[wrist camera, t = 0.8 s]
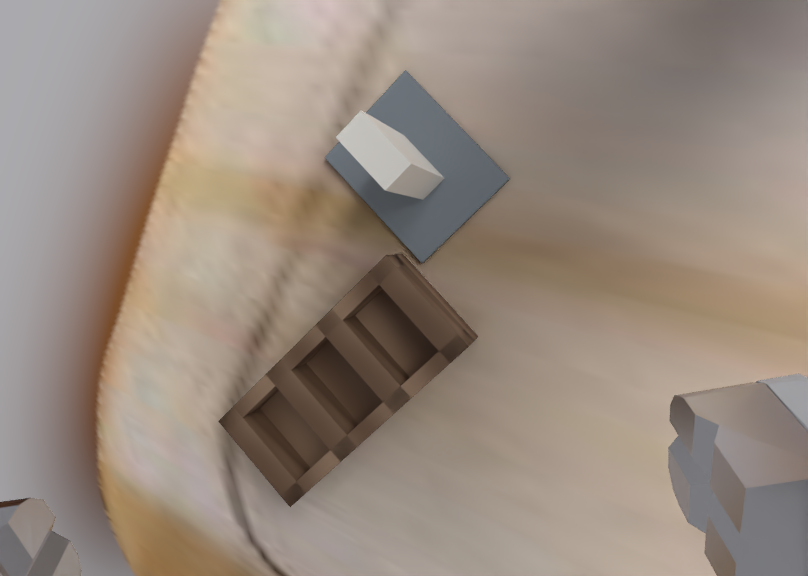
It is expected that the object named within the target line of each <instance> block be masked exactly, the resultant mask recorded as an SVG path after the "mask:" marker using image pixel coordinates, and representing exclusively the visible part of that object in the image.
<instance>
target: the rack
mask: <svg viewBox="0 0 808 576" xmlns="http://www.w3.org/2000/svg"><path fill="white" fill-rule="evenodd" d="M477 337H478V336H477V335H476V333H475V332H474V331H473V330H472V329H471V328H470V327H469V326H468V325H467V324H466V323H465V321H464V320H463V319H462V318H461V317H460V316H459V315H458V314H457V313H456V312H455V311H454V309H453V308H452V307H451V306H450V305H449V304H448V303H447V302H446V301H445V300H444V299H443V297H442V296H441V295H440V294H439V293H438V292H437V291H436V290H435V289H434V288H433V287H432V285H431V284H430V283H429V282H428V281H427V280H426V279H425V278H424V277H423V276H422V275H421V273H420V272H419V271H418V270H417V269H416V268H415V267H414V266H413V265H412V264H411V262H410V261H409V260H408V259H407V258H406V257H405V256H404V255H403V254H395V255H386V256H385V257H384V258H383V259H382V260H381V261H380V262H379V263H378V264H377V265H376V266H375V267H374V268H373V269H372V270H371V271H370V272H369V273H368V274H367V275H366V276H365V277H364V278H363V279H362V280H361V281H360V282H359V283H358V284H357V285H356V286H355V287H354V288H353V289H352V290H351V291H350V292H349V293H348V294H347V295H346V296H345V297H344V298H343V299H342V300H341V301H339V302H338V303H337V304H336V305H335V306H334V307H333V308H332V309H331V310H330V311H329V312H328V313H327V314H326V315H325V316H324V317H323V318H322V319H321V320H320V321H319V322H318V323H317V324H316V325H315V326H314V327H313V328H312V329H311V330H310V331H309V332H308V333H307V334H306V335H305V336H304V337H303V338H302V339H301V340H300V341H299V342H298V343H297V344H296V345H295V346H294V347H293V348H292V349H291V350H290V351H289V352H288V353H287V354H286V355H285V356H284V357H283V358H282V359H281V360H280V361H279V362H278V363H277V364H276V365H275V366H274V367H273V368H272V369H271V370H270V371H269V372H268V373H267V374H266V375H265V376H264V377H263V378H262V379H261V380H260V381H259V382H258V383H257V384H256V385H255V386H254V387H253V388H252V389H251V390H250V391H249V392H248V393H247V394H246V395H245V396H244V397H243V398H242V399H241V400H240V401H239V402H237V403H236V404H235V405H234V406H233V407H232V408H231V409H230V410H229V411H228V412H227V413H226V414H225V415H224V416H223V417H222V418H221V419H220V420H219V423H220V424H221V425H222V426H223V427H224V428H225V430H226V431H227V432H228V433H229V434H230V436H231V437H232V438H233V439H234V440H235V442H236V443H237V444H238V445H239V446H240V448H241V449H242V450H243V451H244V452H245V454H246V455H247V456H248V457H249V458H250V460H251V461H252V462H253V463H254V464H255V466H256V467H257V468H258V469H259V470H260V472H261V473H262V474H263V475H264V476H265V478H266V479H267V480H268V481H269V482H270V484H271V485H272V486H273V487H274V488H275V490H276V491H277V492H278V493H279V494H280V496H281V497H282V498H283V499H284V500H285V501H286V503H287V504H288V505H289V506H290V507H291V506H292V505H293V504H294V503H295V502H296V501H298V500H299V499H300V498H301V497H302V496H303V495H304V494H305V493H306V492H308V491H309V490H310V489H311V488H312V487H313V486H314V485H315V484H316V483H318V482H319V481H320V480H321V479H322V478H323V477H324V476H325V475H326V474H328V473H329V472H330V471H331V470H332V469H333V468H334V467H335V466H336V465H337V464H339V463H340V462H341V461H342V460H343V459H344V458H345V457H346V456H347V455H349V454H350V453H351V452H352V451H353V450H354V449H355V448H356V447H357V446H359V445H360V444H361V443H362V442H363V441H364V440H365V439H366V438H367V437H369V436H370V435H371V434H372V433H373V432H374V431H375V430H376V429H377V428H379V427H380V426H381V425H382V424H383V423H384V422H385V421H386V420H387V419H389V418H390V417H391V416H392V415H393V414H394V413H395V412H396V411H397V410H399V409H400V408H401V407H402V406H403V405H404V404H405V403H406V402H407V401H409V400H410V399H411V398H412V397H413V396H414V395H415V394H416V393H417V392H419V391H420V390H421V389H422V388H423V387H424V386H425V385H426V384H427V383H429V382H430V381H431V380H432V379H433V378H434V377H435V376H436V375H437V374H439V373H440V372H441V371H442V370H443V369H444V368H445V367H446V366H447V365H449V364H450V363H451V362H452V361H453V360H454V359H455V358H456V357H457V356H459V355H460V354H461V353H462V352H463V351H464V350H465V349H466V348H467V347H469V346H470V344H471V343H472V342H473V341H474V340H475V339H476V338H477Z"/></svg>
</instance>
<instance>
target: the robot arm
mask: <svg viewBox="0 0 808 576" xmlns="http://www.w3.org/2000/svg"><path fill="white" fill-rule="evenodd" d="M670 422H671V424H672V425H673V427H674V429H675V430H676V432H677V434H678V435H679V436H678V437H677V438H676V439H675V440H674V442H673V443H672V444H671V445H670V446H669V448H668V468H669V473H670V478H671V482H672V487H673V491H674V493H675V496H676V499H677V501H678V504H679V506H680V508H681V510H682V512H683V514H684V516H685V518H686V520H687V522H688V523H690V524H691V525H693V526H694V527H696V528H698V529H699V530H701V531H702V532H704V533H706V541H705V555H706V557H707V558H708V560H709V562H710V564H711V566H712V567H713V569H714V571H715V573H716V575H717V576H808V377H806V376H803V375H801V374H794V375H788V376H783V377H777V378H771V379H766V380H760V381H757V382H755V383H746V384H740V385H734V386H728V387H722V388H716V389H710V390H704V391H698V392H692V393H686V394H680V395H674V397H673V400H672V402H671V405H670ZM55 518H56V517H55V516H54V514H53V513H52V511H51V510H50V509H49V507H48V506H47V504H46V503H45V501H44V500H43V499H35V498H25V499H18V500H10V501H3V502H0V576H81V566H80V562H79V557H78V553H77V552H76V550H75V548H74V547H73V545H72V543H71V542H70V541H69V540H68V539H66V538H64V537H62V536H61V535H59V534H57V533H55V532H53V531H51V530H52V527H53V524H54V521H55Z"/></svg>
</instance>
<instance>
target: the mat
mask: <svg viewBox="0 0 808 576" xmlns="http://www.w3.org/2000/svg"><path fill="white" fill-rule="evenodd" d="M366 113H367V114H369V115H370V116H372V117H374V118H375V119H377V120H379V121H381V122H382V123H384V124H386V125H387V126H389V127H391V128H392V129H394V130H396V131H398V132H399V133H401V134H403V135H404V136H405V137H406V138H407V139H408V140H409V141H410V142H411V143H412V144H413V145H414V146H415V147H416V148H417V150H418V151H419V152H420V153H421V154H422V155H423V156H424V157H425V158H426V159H427V160H428V161H429V162H430V163H431V164H432V165H433V166H434V168H435V169H436V170H437V171H438V172H439V173H440V174H441V175H442V176H443V177H444V179H443V180H442V181H441V182H440V183H439V184H438V185H437V186H436V187H435V188H434V189H433V190H432V191H431V192H430V193H429V194H428V195H427V196H426V197H425V198H424V199H423V200H422V199H418V198H414V197H410V196H405V195H401V194H397V193H393V192H388V191H385V190H384V189H383V188H382V187H381V186H380V185H379V184H378V183H377V182H376V180H375V179H374V178H373V177H372V176H371V175H370V174H369V173H368V172H367V171H366V170H365V169H364V168H363V166H362V165H361V164H360V163H359V162H358V161H357V160H356V159H355V158H354V157H353V156H352V155H351V153H350V152H349V151H348V150H347V149H346V148H345V147H344V146H343V145H342V144H341V143H340V142H338V144H337V145H336V146H335V147H334V148H333V149H332V150H331V151H330V152H329V153H328V154H327V155H326V157H325V159H326V160H327V161H328V162H329V163H330V164H331V165H332V166H333V167H334V168H335V169H336V170H337V172H338V173H339V174H340V175H341V176H342V177H343V178H344V179H345V180H346V181H347V182H348V184H349V185H350V186H351V187H352V188H353V189H354V190H355V191H356V192H357V193H358V194H359V196H360V197H361V198H362V199H363V200H364V201H365V202H366V203H367V204H368V205H369V206H370V208H371V209H372V210H373V211H374V212H375V213H376V214H377V215H378V216H379V217H380V218H381V219H382V221H383V222H384V223H385V224H386V225H387V226H388V227H389V228H390V229H391V230H392V231H393V233H394V234H395V235H396V236H397V237H398V238H399V239H400V240H401V241H402V242H403V243H404V245H405V246H406V247H407V248H408V249H409V250H410V251H411V252H412V253H413V254H414V255H415V256H416V258H417V259H418V260H419V261H420V262H421V263H423V262H425V261H426V260H427V259H428V258H429V257H430V256H431V255H432V254H433V253H434V252H435V251H436V250H437V249H438V248H439V247H440V246H441V245H442V244H443V243H444V242H445V241H446V240H447V239H448V238H449V237H450V236H451V235H452V234H453V233H455V232H456V231H457V230H458V229H459V228H460V227H461V226H462V225H463V224H464V223H465V222H466V221H467V220H468V219H469V218H470V217H471V216H472V215H473V214H474V213H475V212H476V211H477V210H478V209H479V208H480V207H481V206H482V205H483V204H485V203H486V202H487V201H488V200H489V199H490V198H491V197H492V196H493V195H494V194H495V193H496V192H497V191H498V190H499V189H500V188H501V187H502V186H503V185H504V184H505V183H506V182H507V181H508V180H509V179H510V178H509V177H508V176H507V175H506V174H505V173H504V172H503V171H502V170H501V169H500V168H499V167H498V166H497V165H496V164H495V163H494V162H493V161H492V159H491V158H490V157H489V156H488V155H487V154H486V153H485V152H484V151H483V150H482V149H481V148H480V147H479V146H478V145H477V144H476V143H475V142H474V141H473V140H472V139H471V138H470V137H469V136H468V135H467V133H466V132H465V131H464V130H463V129H462V128H461V127H460V126H459V125H458V124H457V123H456V122H455V121H454V120H453V119H452V118H451V117H450V116H449V115H448V114H447V113H446V112H445V111H444V110H443V108H442V107H441V106H440V105H439V104H438V103H437V102H436V101H435V100H434V99H433V98H432V97H431V96H430V95H429V94H428V93H427V92H426V91H425V90H424V89H423V88H422V87H421V86H420V85H419V84H418V82H417V81H416V80H415V79H414V78H413V77H412V76H411V75H410V74H409V73H408V72H407V71H406V70H405V71H404V72H403V73H402V74H401V76H400V77H399V78H398V79H397V80H396V81H395V82H394V83H393V84H392V85H391V86H390V87H389V89H388V90H387V91H386V92H385V93H384V94H383V95H382V96H381V97H380V98H379V99H378V100H377V101H376V103H375V104H374V105H373V106H372V107H371V108H370V109H369V110H368V111H367V112H366Z"/></svg>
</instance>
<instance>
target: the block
mask: <svg viewBox="0 0 808 576" xmlns="http://www.w3.org/2000/svg"><path fill="white" fill-rule="evenodd" d="M336 138H337V139H338V141H339V142H340V143H341V144H342V145H343V146H344V147H345V148H346V149H347V150H348V151H349V152H350V153H351V155H352V156H353V157H354V158H355V159H356V160H357V161H358V162H359V163H360V164H361V165H362V166H363V168H364V169H365V170H366V171H367V172H368V173H369V174H370V175H371V176H372V177H373V178H374V179H375V180H376V182H377V183H378V184H379V185H380V186H381V187H382V188H383V189H384V190H385V191H388V192H393V193H397V194H401V195H405V196H410V197H414V198H418V199H422V200H423V199H424V198H425V197H426V196H427V195H428V194H429V193H430V192H431V191H432V190H433V189H434V188H435V187H436V186H437V185H438V184H439V183H440V182H441V181H442V180H443V179H444V177H443V176H442V175H441V174H440V173H439V172H438V171H437V170H436V169H435V168H434V166H433V165H432V164H431V163H430V162H429V161H428V160H427V159H426V158H425V157H424V156H423V155H422V154H421V153H420V152H419V151H418V150H417V148H416V147H415V146H414V145H413V144H412V143H411V142H410V141H409V140H408V139H407V138H406V137H405V136H404V135H403V134H401V133H399V132H398V131H396V130H394V129H392V128H391V127H389V126H387V125H386V124H384V123H382V122H381V121H379V120H377V119H375V118H374V117H372V116H370V115H369V114H367V113H365V112H364V111H362V110H361V111H360V112H359V113H358V114H357V115H356V116H355V117H354V118H353V119H352V120H351V121H350V122H349V124H348V125H347V126H346V127H345V128H344V129H343V130H342V131H341V132H340V133H339V134H338V135H337V137H336Z"/></svg>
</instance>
